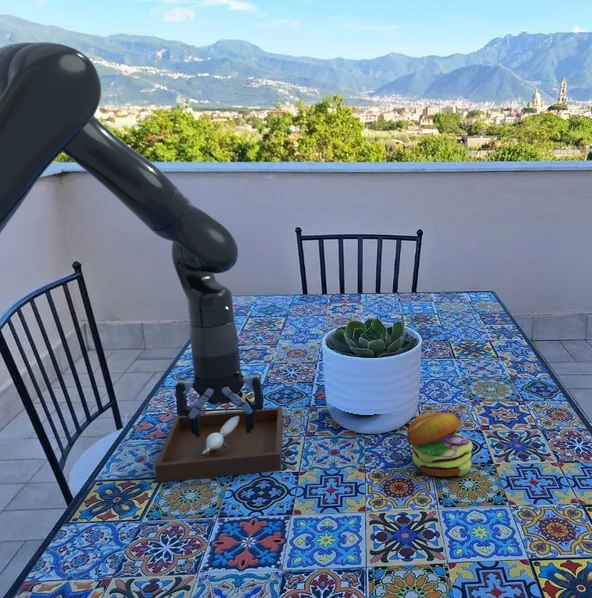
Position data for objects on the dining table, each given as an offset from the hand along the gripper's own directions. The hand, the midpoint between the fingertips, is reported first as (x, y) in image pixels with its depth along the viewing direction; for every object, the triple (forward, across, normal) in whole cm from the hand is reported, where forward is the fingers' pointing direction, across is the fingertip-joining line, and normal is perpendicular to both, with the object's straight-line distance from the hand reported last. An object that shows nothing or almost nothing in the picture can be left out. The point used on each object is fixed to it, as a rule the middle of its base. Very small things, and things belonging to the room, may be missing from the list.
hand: (224, 432), depth 99 cm
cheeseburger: (+3, +36, -11) cm, 38 cm away
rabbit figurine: (+3, 0, 0) cm, 3 cm away
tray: (+3, 0, 0) cm, 3 cm away
